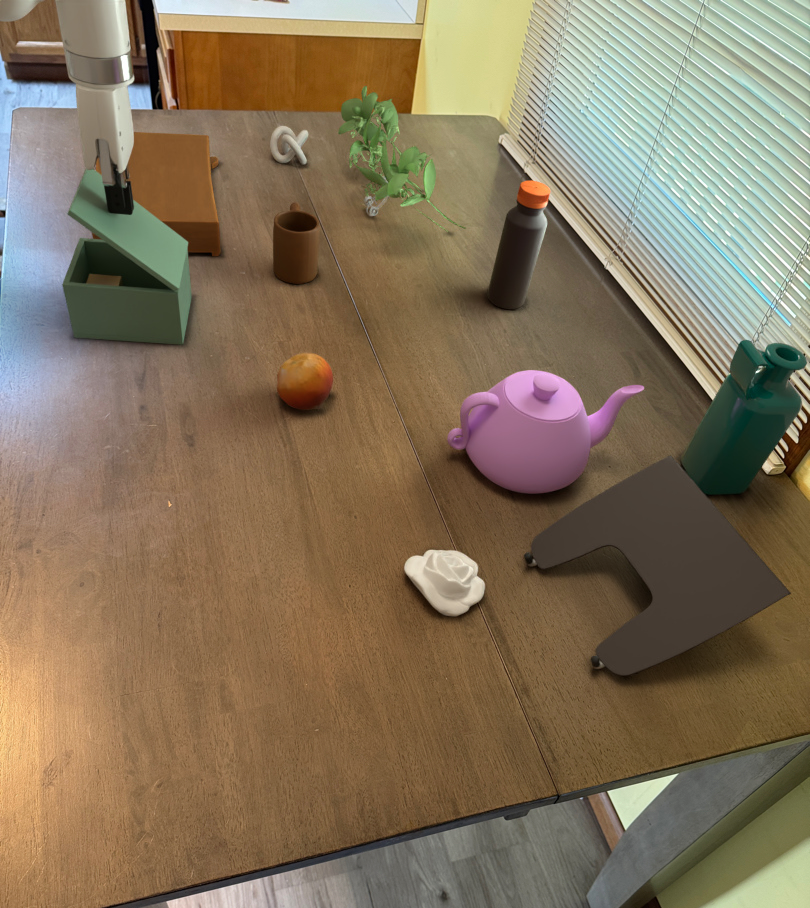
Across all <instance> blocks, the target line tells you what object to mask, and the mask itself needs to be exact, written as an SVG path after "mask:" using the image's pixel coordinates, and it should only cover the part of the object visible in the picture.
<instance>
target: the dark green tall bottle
mask: <svg viewBox="0 0 810 908" xmlns="http://www.w3.org/2000/svg"><path fill="white" fill-rule="evenodd" d="M807 365H808V359H807V357H806V356H805V354H804V353H803V352H802V351H801V350H799V349H798V348H796V347H794V346H792V345H790V344H786V343H783V342H772V343H769V344H766V346H765V348H764V350H760V349H759V348H757V346H756V345H755V344H754V343H753V341H751V340H749V339H743V340H740V342H739V343H738V345H737V347H736V349H735V352H734V355H733V357H732V359H731V362H730V365H729V373H728V374H726V376H725V378H724V380H723V382H722V384H721V385H720V387H719V388H718V391H717V392H716V393H715V396H714V398H713V399H712V401H711V402H710V404H709V406H708V409H707V410H706V412H705V414H703V415H704V416H703V417H702V419H701V421H700V422H699V424H698V426H697V427H696V429H695V431H694V433H693V435H692V436H691V438H690V441H689V442H688V443H687V446H686V447H685V449H684V450H683V452H682V455H681V456H680V463H681V466H683V467H682V468H683V470H684V471H685V472H686V473H687V474H688V475H689V477H690V478H691V479H692V480H693V481H694V482H695V483H696V485H697V486H698V487H699V488H700V489H701V490H702V492H703V493H704V494H705V495H709V496H710V495H711V496H712V495H713V496H714V495H739V494H742V493H744V492H746V491H747V490H748V488H749V487H750V485H751V484H752V482H753V480H754V479H755V478H756V476H757V475H758V474H759V472H760V470H761V469H762V468H763V466H764V465H765V463H766V462H767V460H768V458H769V457H770V456H771V455H772V453H773V451H775V448H776V447H777V446H778V444H779V442H780V441H781V440H782V438H783V437H784V436H785V434H786V432H787V431H788V429H789V428H790V427H791V425H792V424H793V422H794V421H795V419H796V418H797V416H798V415H799V414H800V412H801V410H802V407H803V400H802V399H803V398H802V396H801V395H800V393H799V392H798V391H797V390H796V389H795V387H794V385H793V384H792V383H791V381H790V380H789V379H790V378H791V377H792V375H793V373H794V371H801V370H804V369H805V368H806V367H807Z"/></svg>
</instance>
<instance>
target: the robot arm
mask: <svg viewBox="0 0 810 908" xmlns="http://www.w3.org/2000/svg"><path fill="white" fill-rule="evenodd" d="M44 1H45V0H0V22H2V23H3V22H4V23H5V22H6V23H7V22H9V23H11V22H15V21H19V20H21V19H23V18H24V17H26V16H27V15H28V14H29V13H30V12H31V11H32V10H33V9H34V8H35V7H36V6H37V5H38V4H40V3H42V2H44ZM54 2H55V7H56V13H57V19H58V25H59V30H60V31H59V32H60V35H61V36H60V37H61V42H62V47H63V53H64V58H65V64H66V71H67V75H68V78H69V80H70V81H71V82H73V83H74V84H75V100H76V112H77V113H76V115H77V121H78V130H79V137H80V144H81V145H80V146H81V152H82V159H83V166H84V168H85V169H87V170H91V169H94V170H95V167H96V161H97V159H98V158H99V163H100V168H101V173H102V182H103V185H104V189H105V195H106V201H107V208H108V212H109V213H114V214H124V215H132V213H133V210H134V202H133V195H132V187H131V181H126V180H129V165H128V161H129V158H130V155H131V152H132V148H133V144H134V132H135V131H134V122H133V115H132V105H131V100H130V99H131V98H130V93H129V88H128V87H129V86H130V85H132V84H133V83H134V82H135V74H134V65H133V56H132V48H131V40H130V30H129V23H128V13H127V4H126V0H54Z"/></svg>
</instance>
